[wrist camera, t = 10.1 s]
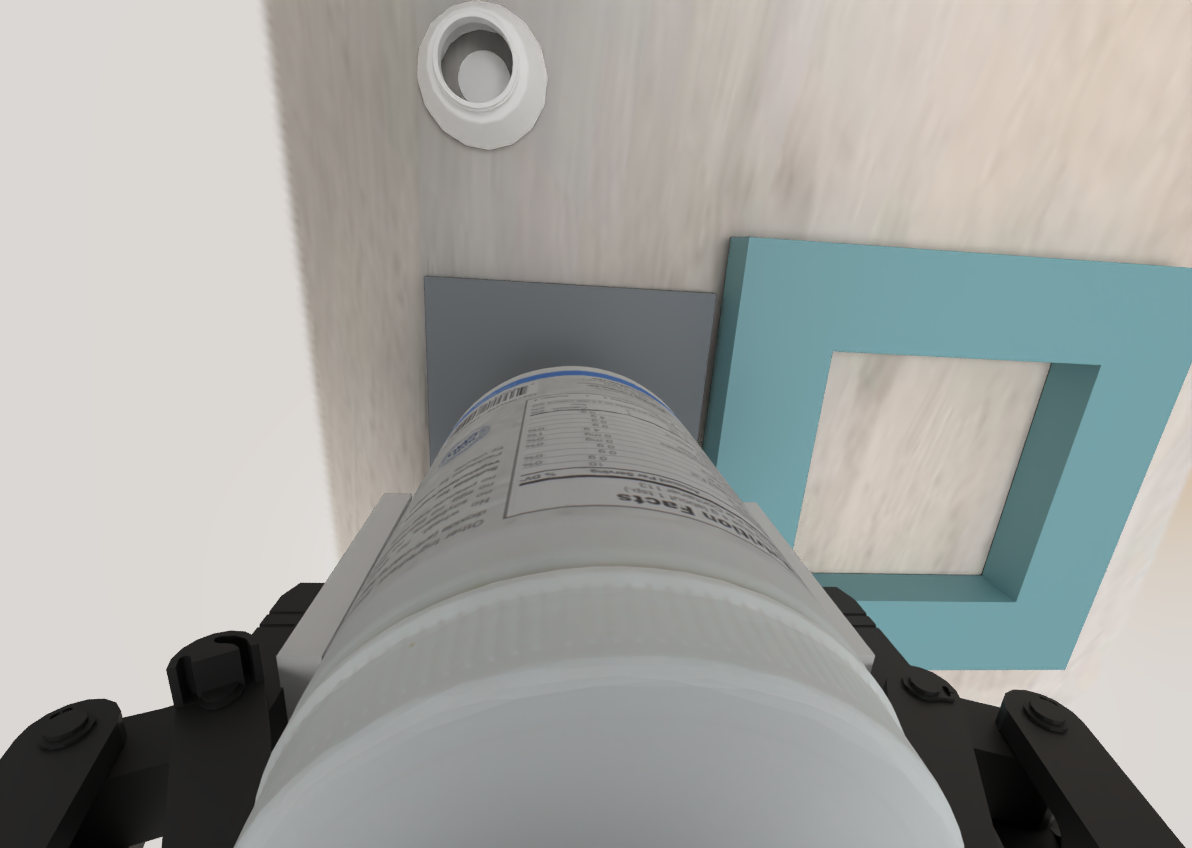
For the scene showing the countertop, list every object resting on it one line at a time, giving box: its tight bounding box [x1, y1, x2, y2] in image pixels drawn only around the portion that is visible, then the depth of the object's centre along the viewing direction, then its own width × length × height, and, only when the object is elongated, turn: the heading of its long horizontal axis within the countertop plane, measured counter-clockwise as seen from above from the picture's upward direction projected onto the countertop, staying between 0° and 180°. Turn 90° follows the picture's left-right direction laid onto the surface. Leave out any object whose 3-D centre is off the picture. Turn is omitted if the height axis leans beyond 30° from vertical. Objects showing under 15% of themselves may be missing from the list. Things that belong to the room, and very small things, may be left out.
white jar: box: [417, 0, 548, 150], centre depth 21 cm, size 5×3×5 cm
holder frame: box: [702, 237, 1192, 670], centre depth 28 cm, size 22×22×2 cm
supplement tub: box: [234, 366, 964, 848], centre depth 14 cm, size 10×10×15 cm
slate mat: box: [424, 276, 716, 467], centre depth 27 cm, size 13×13×1 cm
